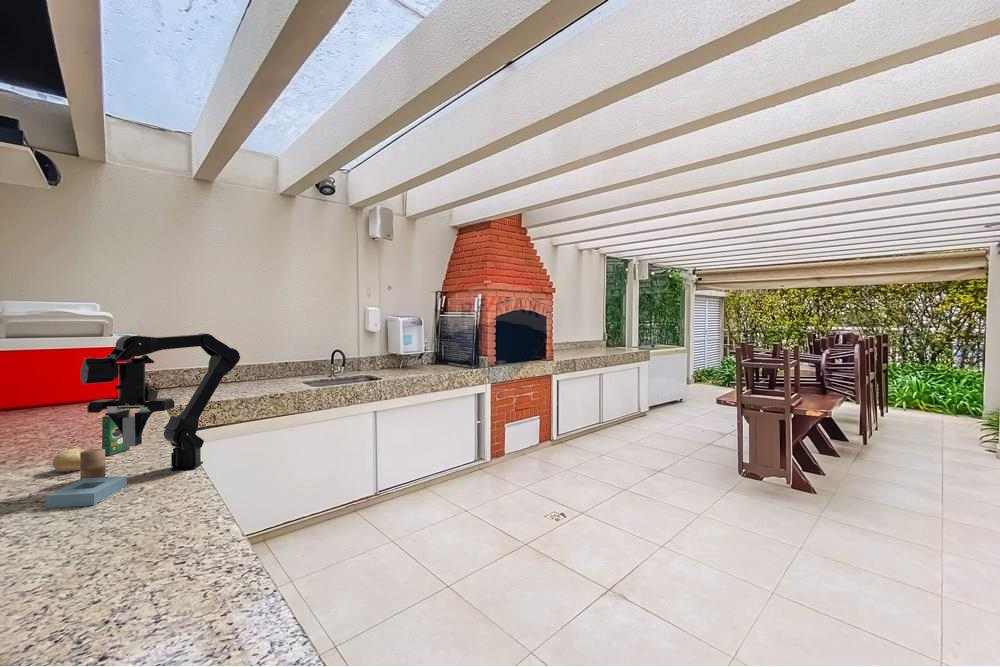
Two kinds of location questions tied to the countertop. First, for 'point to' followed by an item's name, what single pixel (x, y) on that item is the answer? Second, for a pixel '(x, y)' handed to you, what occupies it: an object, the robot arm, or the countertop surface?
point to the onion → (68, 460)
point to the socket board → (85, 492)
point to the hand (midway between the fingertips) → (132, 436)
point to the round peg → (92, 463)
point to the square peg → (130, 432)
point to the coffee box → (111, 437)
